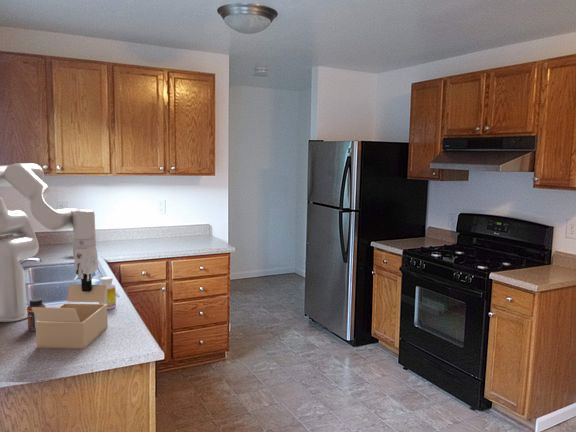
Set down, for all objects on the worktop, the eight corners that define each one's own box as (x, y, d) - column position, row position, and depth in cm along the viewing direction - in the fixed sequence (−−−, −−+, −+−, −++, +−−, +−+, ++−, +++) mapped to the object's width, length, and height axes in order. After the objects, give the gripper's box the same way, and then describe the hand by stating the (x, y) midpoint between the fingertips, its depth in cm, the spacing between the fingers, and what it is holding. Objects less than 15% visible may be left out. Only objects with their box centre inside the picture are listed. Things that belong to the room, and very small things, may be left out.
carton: (36, 347, 157) (35, 322, 156) (65, 326, 177) (64, 303, 176) (84, 348, 157) (83, 322, 156) (107, 327, 177) (106, 304, 176)
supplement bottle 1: (25, 329, 174) (23, 299, 172) (41, 324, 178) (40, 295, 177) (32, 333, 170) (30, 302, 169) (49, 328, 175) (47, 299, 173)
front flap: (38, 319, 156) (38, 320, 156) (31, 307, 152) (31, 308, 152) (79, 320, 156) (79, 321, 156) (74, 308, 152) (74, 309, 151)
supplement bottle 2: (118, 304, 203) (117, 275, 202) (113, 309, 197) (112, 280, 195) (102, 304, 203) (101, 275, 201) (96, 309, 196) (95, 279, 195)
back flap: (70, 284, 178) (70, 284, 178) (67, 301, 176) (67, 301, 176) (106, 285, 178) (106, 285, 178) (103, 302, 176) (104, 302, 176)
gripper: (85, 246, 167) (87, 297, 169) (103, 239, 181) (105, 285, 184) (64, 246, 167) (67, 296, 169) (84, 239, 182) (86, 285, 184)
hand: (87, 290), depth 176 cm, fingers closed
